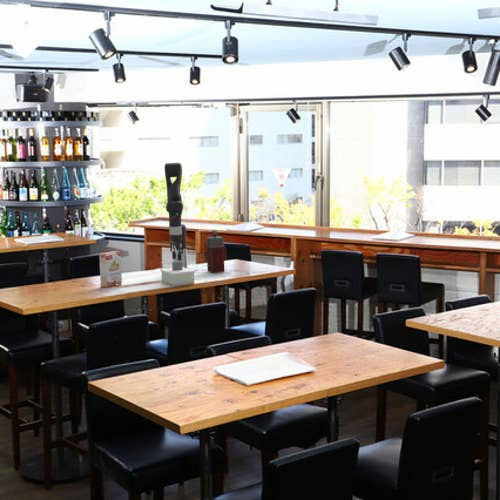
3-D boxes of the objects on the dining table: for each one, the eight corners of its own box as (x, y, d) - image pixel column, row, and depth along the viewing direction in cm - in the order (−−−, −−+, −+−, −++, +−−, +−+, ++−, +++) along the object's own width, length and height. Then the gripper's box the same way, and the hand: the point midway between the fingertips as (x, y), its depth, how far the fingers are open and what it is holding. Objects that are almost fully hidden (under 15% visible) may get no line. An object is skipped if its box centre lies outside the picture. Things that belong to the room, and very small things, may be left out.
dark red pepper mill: (227, 271, 569) (226, 229, 565) (212, 273, 564) (210, 231, 560) (222, 269, 577) (221, 228, 573) (207, 271, 572) (205, 230, 568)
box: (162, 282, 534) (161, 271, 533) (182, 279, 541) (181, 269, 540) (173, 286, 519) (173, 275, 518) (194, 283, 525) (193, 272, 524)
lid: (160, 271, 533) (160, 261, 533) (182, 268, 541) (181, 259, 540) (172, 275, 517) (172, 265, 516) (195, 272, 524) (194, 262, 523)
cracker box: (107, 287, 520) (105, 254, 518) (100, 287, 524) (98, 253, 521) (122, 284, 532) (121, 251, 529) (115, 283, 535) (113, 250, 533)
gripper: (165, 233, 530) (166, 259, 532) (174, 235, 518) (176, 261, 520) (176, 232, 534) (177, 258, 536) (186, 234, 521) (187, 260, 523)
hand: (176, 259), depth 528 cm, fingers open, 8 cm apart
